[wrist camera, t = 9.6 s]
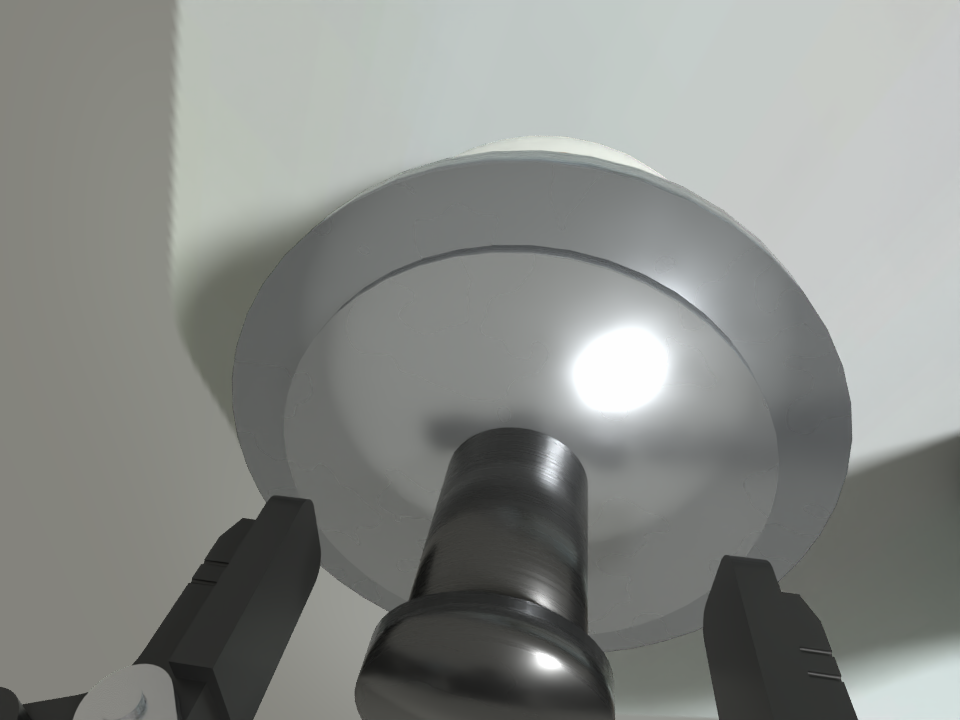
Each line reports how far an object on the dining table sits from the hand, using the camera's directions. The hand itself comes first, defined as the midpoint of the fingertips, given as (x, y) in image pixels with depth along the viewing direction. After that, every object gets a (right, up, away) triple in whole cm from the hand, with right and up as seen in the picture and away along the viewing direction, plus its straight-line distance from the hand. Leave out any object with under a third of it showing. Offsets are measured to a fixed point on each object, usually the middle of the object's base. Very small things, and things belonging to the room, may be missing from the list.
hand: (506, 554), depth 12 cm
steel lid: (+1, +2, +3) cm, 4 cm away
